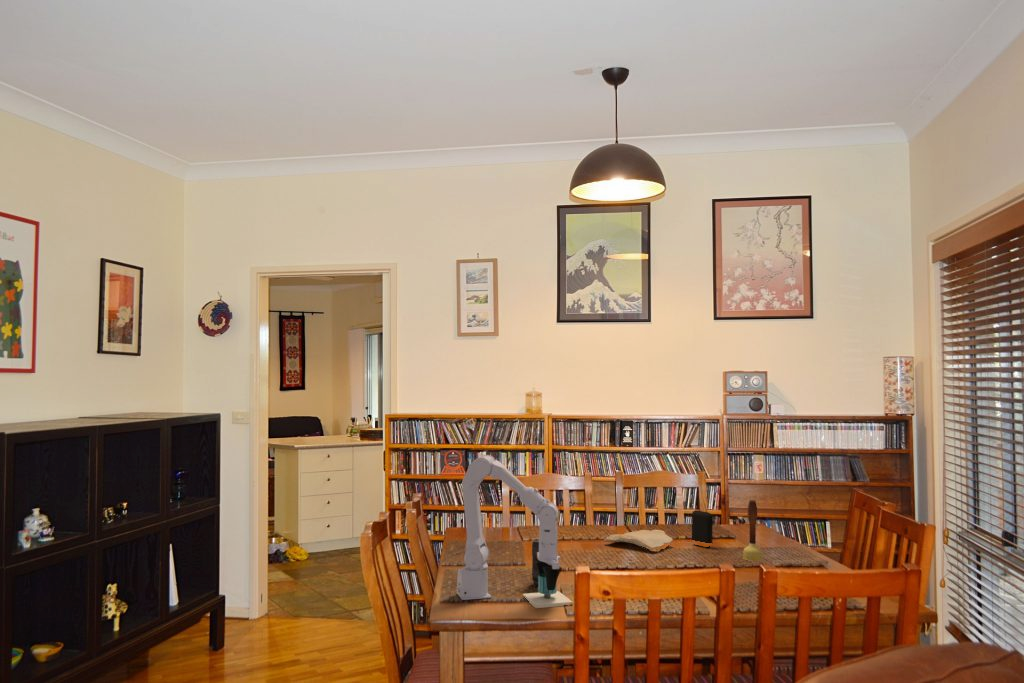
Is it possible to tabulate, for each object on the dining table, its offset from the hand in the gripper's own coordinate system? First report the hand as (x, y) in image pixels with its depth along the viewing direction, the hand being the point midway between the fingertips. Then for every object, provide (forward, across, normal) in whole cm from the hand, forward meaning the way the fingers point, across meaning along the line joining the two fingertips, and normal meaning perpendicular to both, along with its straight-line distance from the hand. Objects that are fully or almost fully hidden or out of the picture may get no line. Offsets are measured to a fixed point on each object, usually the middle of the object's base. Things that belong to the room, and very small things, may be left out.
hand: (547, 587), depth 232 cm
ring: (+1, 0, 0) cm, 1 cm away
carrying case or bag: (+4, +55, -90) cm, 106 cm away
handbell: (+4, +19, -89) cm, 91 cm away
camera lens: (+4, +17, -5) cm, 18 cm away
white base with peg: (+4, 0, 0) cm, 4 cm away
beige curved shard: (+5, +63, -65) cm, 91 cm away
